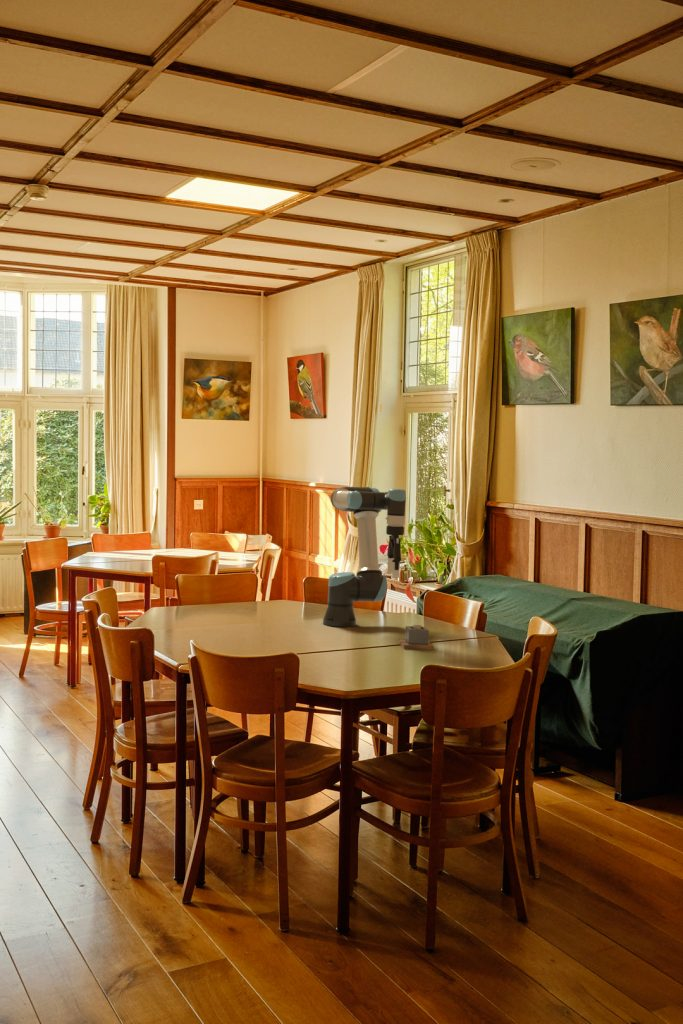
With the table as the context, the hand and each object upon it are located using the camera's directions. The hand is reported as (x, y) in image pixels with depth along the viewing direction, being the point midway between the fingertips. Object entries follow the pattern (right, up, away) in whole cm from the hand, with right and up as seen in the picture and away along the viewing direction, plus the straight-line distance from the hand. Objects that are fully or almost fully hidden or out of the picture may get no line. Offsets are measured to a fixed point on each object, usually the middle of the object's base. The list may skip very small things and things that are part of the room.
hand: (393, 575), depth 423 cm
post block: (+9, -28, -14) cm, 33 cm away
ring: (+9, -26, -14) cm, 31 cm away
